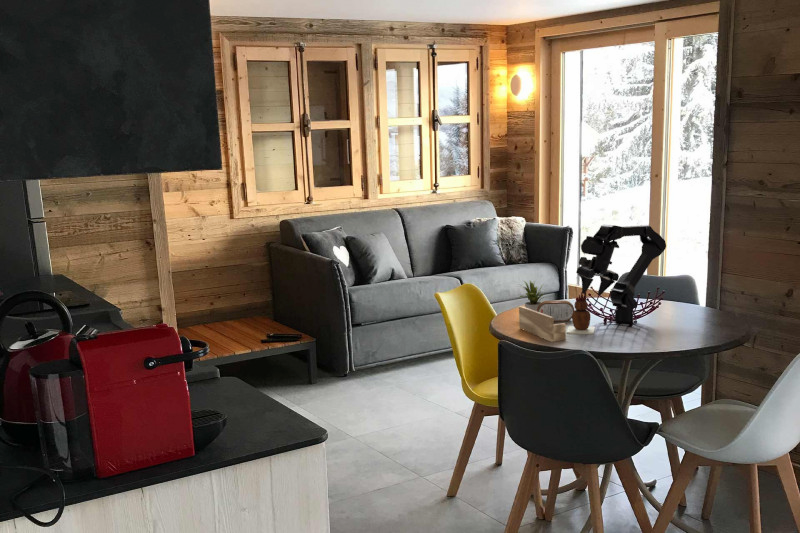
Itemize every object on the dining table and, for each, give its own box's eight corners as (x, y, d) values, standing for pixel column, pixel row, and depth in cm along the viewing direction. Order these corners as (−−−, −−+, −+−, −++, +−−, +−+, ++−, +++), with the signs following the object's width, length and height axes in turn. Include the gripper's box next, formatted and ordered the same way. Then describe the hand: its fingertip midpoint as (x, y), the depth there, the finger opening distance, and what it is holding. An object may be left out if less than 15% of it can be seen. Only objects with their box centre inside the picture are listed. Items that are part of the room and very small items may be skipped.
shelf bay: (533, 326, 312) (532, 304, 311) (565, 339, 290) (565, 315, 289) (519, 328, 310) (518, 306, 309) (551, 341, 288) (550, 317, 287)
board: (595, 328, 305) (595, 326, 305) (593, 334, 296) (593, 332, 296) (568, 327, 308) (568, 326, 308) (566, 333, 299) (566, 332, 299)
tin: (574, 320, 321) (574, 299, 320) (575, 321, 318) (574, 301, 317) (537, 320, 323) (536, 300, 321) (537, 322, 320) (537, 302, 318)
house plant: (507, 317, 332) (506, 279, 330) (532, 312, 339) (532, 275, 336) (528, 322, 320) (527, 283, 317) (554, 317, 326) (554, 279, 324)
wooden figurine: (591, 327, 304) (590, 289, 301) (589, 331, 298) (589, 292, 296) (573, 327, 306) (572, 289, 304) (571, 330, 301) (570, 292, 298)
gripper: (604, 252, 316) (592, 288, 320) (572, 248, 305) (560, 285, 309) (625, 261, 307) (612, 298, 311) (593, 257, 297) (580, 295, 300)
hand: (591, 294), depth 308 cm, fingers open, 9 cm apart
